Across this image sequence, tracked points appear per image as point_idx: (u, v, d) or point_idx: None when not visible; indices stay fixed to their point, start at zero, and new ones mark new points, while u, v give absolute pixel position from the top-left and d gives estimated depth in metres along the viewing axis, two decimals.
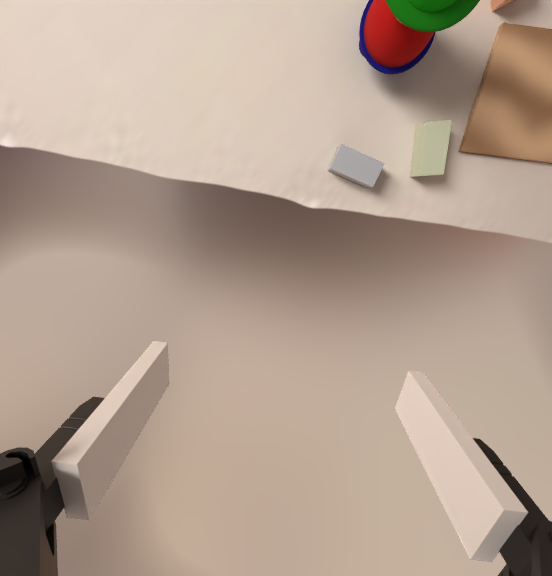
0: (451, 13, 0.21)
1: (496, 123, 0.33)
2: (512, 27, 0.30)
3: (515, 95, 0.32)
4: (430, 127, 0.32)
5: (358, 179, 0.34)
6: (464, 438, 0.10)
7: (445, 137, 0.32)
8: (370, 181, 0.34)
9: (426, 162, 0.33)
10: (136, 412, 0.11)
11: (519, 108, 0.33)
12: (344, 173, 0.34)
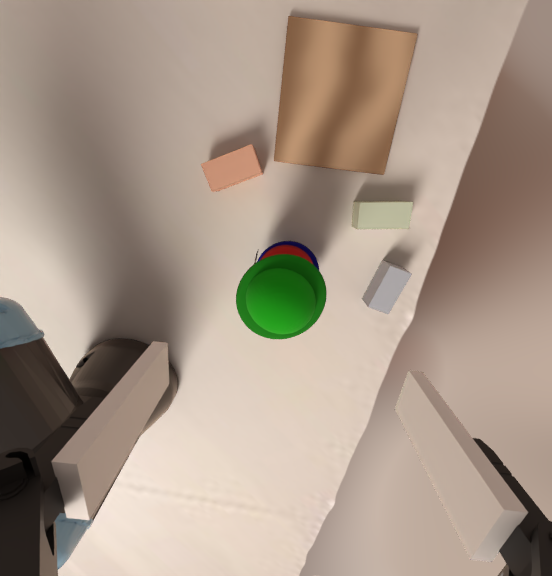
0: (317, 284, 0.24)
1: (360, 140, 0.30)
2: (277, 149, 0.30)
3: (336, 125, 0.29)
4: (363, 224, 0.31)
5: (402, 288, 0.34)
6: (464, 438, 0.10)
7: (375, 206, 0.30)
8: (406, 276, 0.33)
9: (396, 222, 0.31)
10: (136, 412, 0.11)
11: (348, 116, 0.29)
12: (394, 302, 0.34)
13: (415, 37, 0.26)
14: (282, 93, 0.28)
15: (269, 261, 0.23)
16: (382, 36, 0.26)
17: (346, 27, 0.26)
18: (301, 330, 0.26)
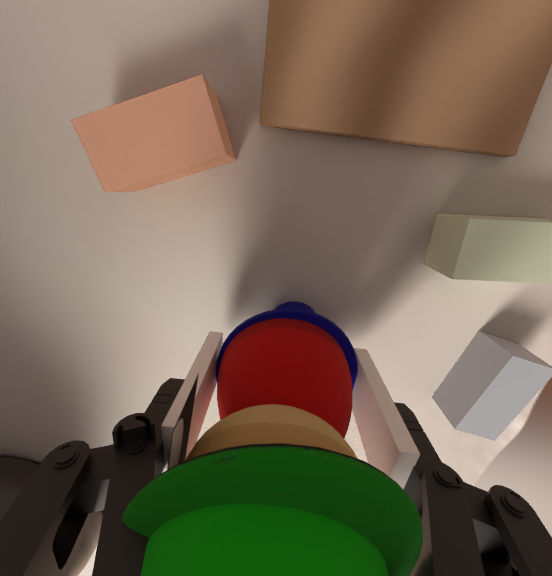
0: (400, 540, 0.07)
1: (472, 69, 0.12)
2: (268, 95, 0.13)
3: (414, 29, 0.12)
4: (468, 268, 0.13)
5: (530, 397, 0.16)
6: (385, 400, 0.12)
7: (505, 230, 0.13)
8: (543, 375, 0.15)
9: (545, 269, 0.13)
10: (206, 392, 0.13)
11: (449, 3, 0.11)
12: (510, 420, 0.17)
13: None
14: None
15: (215, 478, 0.06)
16: None
17: None
18: None
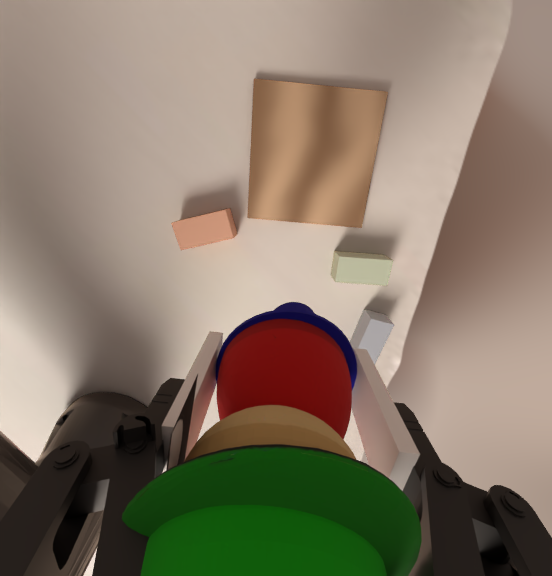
0: (398, 541, 0.07)
1: (335, 195, 0.29)
2: (250, 207, 0.29)
3: (309, 182, 0.28)
4: (341, 277, 0.30)
5: (385, 339, 0.33)
6: (385, 400, 0.12)
7: (355, 261, 0.29)
8: (388, 328, 0.32)
9: (375, 279, 0.30)
10: (206, 392, 0.13)
11: (321, 173, 0.28)
12: (379, 352, 0.33)
13: (385, 95, 0.26)
14: (252, 153, 0.27)
15: (214, 479, 0.06)
16: (351, 95, 0.26)
17: (314, 88, 0.25)
18: None
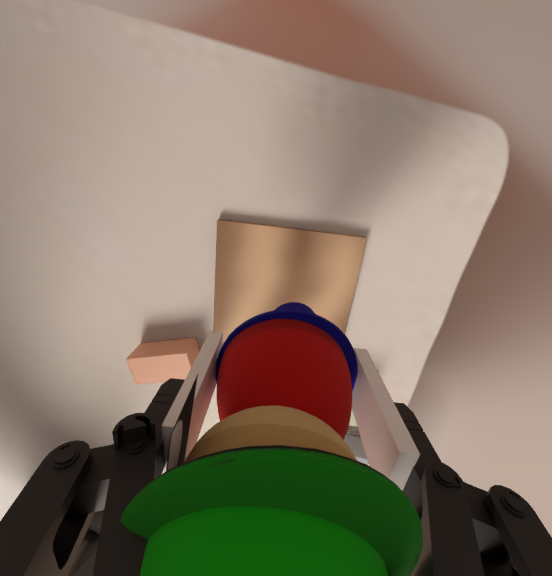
0: (399, 542, 0.07)
1: None
2: None
3: None
4: None
5: None
6: (385, 400, 0.12)
7: None
8: (364, 462, 0.29)
9: (350, 420, 0.27)
10: (206, 392, 0.13)
11: None
12: None
13: (364, 241, 0.23)
14: (216, 289, 0.25)
15: (213, 480, 0.06)
16: (326, 240, 0.23)
17: (284, 231, 0.23)
18: None
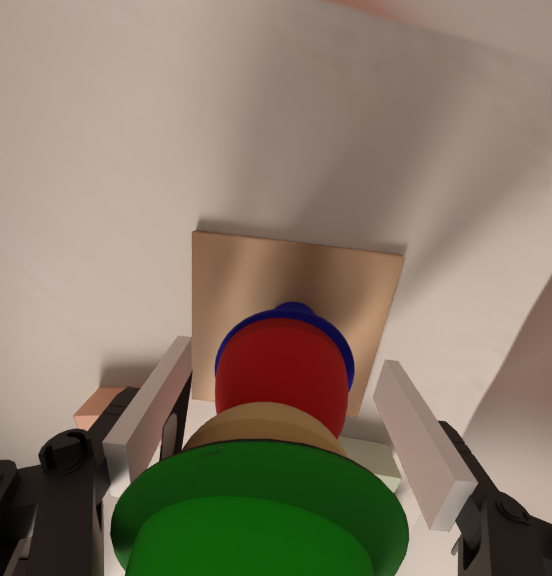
0: (384, 537, 0.07)
1: None
2: (195, 388, 0.20)
3: None
4: None
5: None
6: (428, 419, 0.11)
7: None
8: None
9: None
10: (167, 401, 0.12)
11: None
12: None
13: (401, 262, 0.16)
14: (194, 325, 0.18)
15: (203, 470, 0.06)
16: (347, 260, 0.16)
17: (287, 248, 0.16)
18: None
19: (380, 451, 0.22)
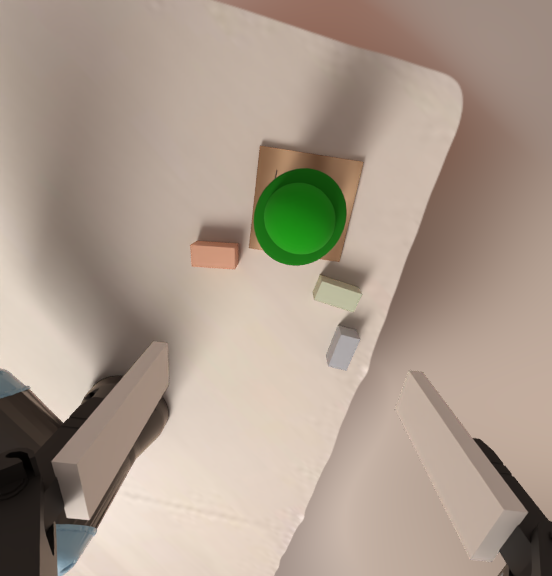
0: (338, 203, 0.23)
1: None
2: (251, 240, 0.37)
3: None
4: (320, 297, 0.37)
5: (354, 350, 0.40)
6: (464, 438, 0.10)
7: (333, 288, 0.37)
8: (355, 341, 0.40)
9: (345, 305, 0.38)
10: (136, 412, 0.11)
11: None
12: (349, 361, 0.41)
13: (361, 164, 0.33)
14: (255, 200, 0.35)
15: (289, 175, 0.23)
16: (335, 162, 0.33)
17: (306, 155, 0.33)
18: (318, 255, 0.25)
19: (352, 287, 0.39)
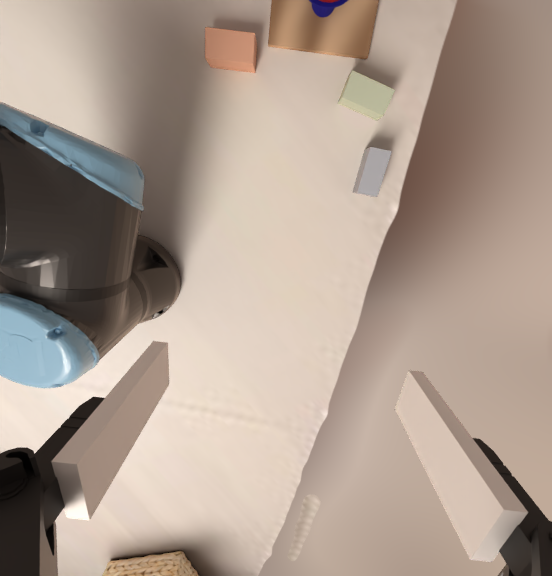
0: None
1: (346, 22, 0.33)
2: (271, 33, 0.34)
3: None
4: (348, 94, 0.34)
5: (385, 168, 0.37)
6: (464, 438, 0.10)
7: (363, 80, 0.33)
8: (387, 155, 0.36)
9: (375, 105, 0.34)
10: (136, 412, 0.11)
11: None
12: (380, 183, 0.37)
13: None
14: None
15: None
16: None
17: None
18: None
19: None
